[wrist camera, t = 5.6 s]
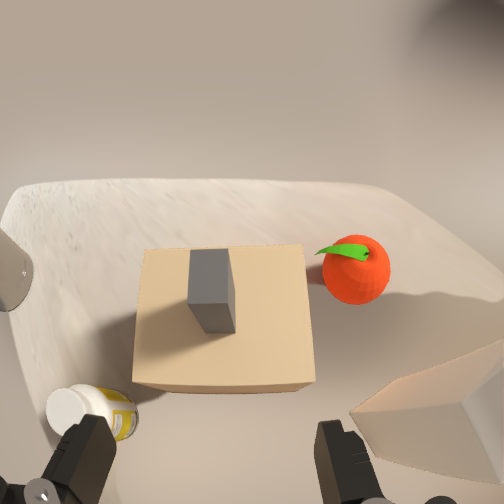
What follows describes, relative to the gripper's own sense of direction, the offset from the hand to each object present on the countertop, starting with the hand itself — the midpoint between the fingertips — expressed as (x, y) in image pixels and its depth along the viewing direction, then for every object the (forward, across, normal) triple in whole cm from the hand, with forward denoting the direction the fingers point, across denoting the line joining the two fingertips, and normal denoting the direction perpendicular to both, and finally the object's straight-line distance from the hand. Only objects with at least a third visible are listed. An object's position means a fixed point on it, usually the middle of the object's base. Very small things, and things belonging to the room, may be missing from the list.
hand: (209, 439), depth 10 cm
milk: (+13, +15, -14) cm, 24 cm away
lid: (+12, 0, -1) cm, 12 cm away
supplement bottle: (+14, -12, -14) cm, 23 cm away
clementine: (+23, +12, -4) cm, 26 cm away
